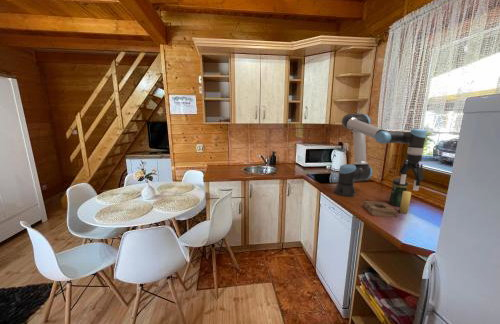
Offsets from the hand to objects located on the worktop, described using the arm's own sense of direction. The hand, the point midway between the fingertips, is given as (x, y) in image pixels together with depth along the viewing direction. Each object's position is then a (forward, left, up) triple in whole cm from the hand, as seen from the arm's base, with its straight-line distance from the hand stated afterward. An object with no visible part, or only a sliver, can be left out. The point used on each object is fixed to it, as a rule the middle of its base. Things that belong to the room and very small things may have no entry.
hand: (408, 187), depth 132 cm
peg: (0, 0, -18) cm, 18 cm away
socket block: (+2, -16, -18) cm, 24 cm away
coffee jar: (-14, +3, -18) cm, 23 cm away
